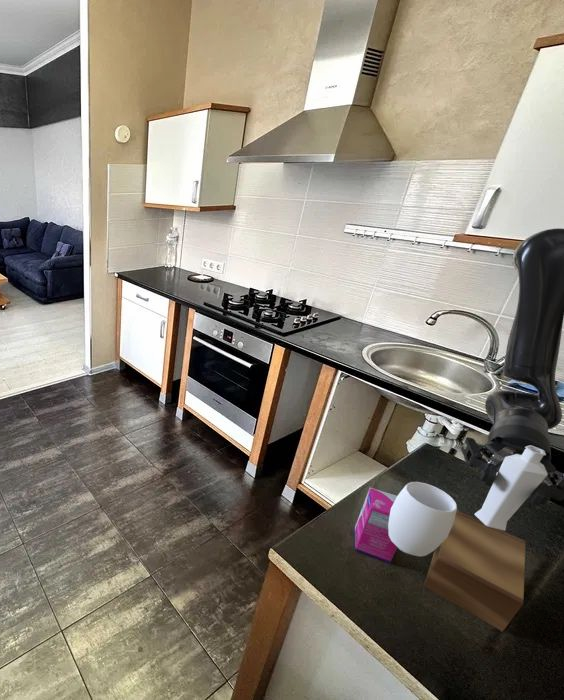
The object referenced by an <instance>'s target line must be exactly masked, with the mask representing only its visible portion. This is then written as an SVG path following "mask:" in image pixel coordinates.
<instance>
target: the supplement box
mask: <svg viewBox="0 0 564 700" xmlns="http://www.w3.org/2000/svg"><path fill="white" fill-rule="evenodd" d="M397 496H398V495H396V494H392V493H389V492H386V491H384V490H383V491H382V490H380V489H376V488H374V487H369V489H368V491H367V494H366V496H365V499H364V502H363V505H362V507H361V510H360V511H359V512H360V513H359V515H358V518H357V521H356V523H355V526H354V530H353V531H354V540H355V541H354V543H355V544H354V545H355V546H354V547H355V548H354V550H355V551H356V552H359V553H362V554H365V555H367V556H370V557H372V558H375V559H377V560H379V561H382V562H385V563H387V564H391V563H392V560H393V558H394V555H395V554H396V551H397V549H398V547H397V546H396V545H395V544H394V543H393V542H392V541H391V539H390V537H389V532H388V523H389V516H390V510H391V507H392V505H393V503H394V502H395V500H396V498H397Z"/></svg>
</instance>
